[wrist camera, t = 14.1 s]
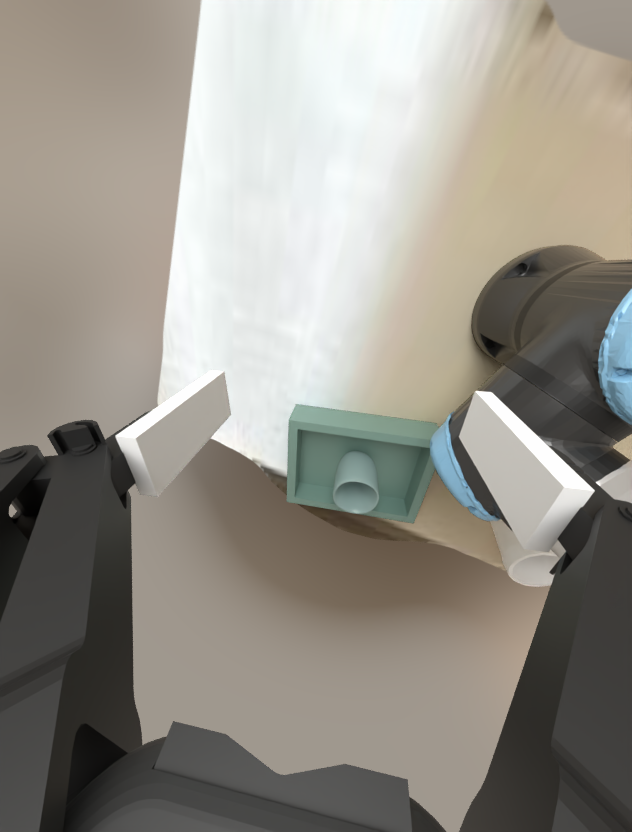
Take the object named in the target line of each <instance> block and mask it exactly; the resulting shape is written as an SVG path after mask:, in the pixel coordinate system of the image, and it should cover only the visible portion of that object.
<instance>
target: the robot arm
mask: <svg viewBox="0 0 632 832" xmlns="http://www.w3.org/2000/svg"><path fill="white" fill-rule="evenodd" d="M472 331H473V335H474V338H475V341H476V343H477V344H478V346H479V347H480V348H481V350H482V351H483V352H485V353H486V354H487V355H489V356H490V357H491V358H493V359H495V360H496V361H498V362H501V363H503V364H504V365H503V366H501V367H500V368H499V369H498V370H497V371H496V372H495V373H494V374H493V375H492V376H491V377H490V378H489V379H488V380H487V381H486V382H485V383H484V384H483V385H482V386H481V387H480V388H479V389H478V390H477V391H475V393H474V394H473V395H472V396H471V397H470V398H468V399H467V400H466V401H465V402H464V403H463V404H462V405H461V406H460V407H459V408H458V409H457V410H456V411H455V412H452V413H451V414H450V415H449V416H448V417H447V419H446V421H445V422H444V423H443V424H442V425H441V426H440V428H439V429H438V430H437V431H436V432H435V433H434V434H433V436H432V437H431V440H430V455H431V459H432V462H433V464H434V467H435V469H436V471H437V473H438V475H439V476H440V478H441V480H442V481H443V483H444V484H445V486H446V487H447V488H448V490H449V491H450V492H451V494H452V495H453V496H454V497H455V498H456V499H457V501H458V502H459V503H460V504H461V505H463V506H464V507H468V509H469V511H470V512H471V513H472V514H473V515H475V516H476V517H478V518H480V519H482V520H485V521H498V520H502V521H503V522H504V523H505V524H506V525H507V526H508V527H509V528H510V530H511V531H512V532H513V533H514V534H515V535H516V537H517V539H518V541H519V542H520V544H521V546H522V548H523V549H528V550H536V551H543V552H549V551H550V550H552V551H553V552H554V553H555V554H556V555H557V556H558V557H559V558H560V559H559V560H558V562H557V563H556V564H555V565H554V567H553V568H552V569H551V570H550V572H549V573H550V574H552V575H554V574H555V575H554V578H553V581H552V584H551V587H550V590H549V593H548V596H547V599H546V602H545V605H544V608H543V611H542V614H541V617H540V619H539V623H538V625H537V628H536V631H535V634H534V637H533V640H532V643H531V646H530V649H529V652H528V655H527V658H526V661H525V664H524V667H523V670H522V673H521V676H520V679H519V682H518V685H517V688H516V690H515V693H514V697H513V700H512V702H511V706H510V708H509V711H508V714H507V717H506V720H505V723H504V726H503V729H502V732H501V735H500V738H499V741H498V744H497V747H496V750H495V753H494V755H493V759H492V761H491V764H490V767H489V770H488V773H487V776H486V778H485V781H484V783H483V785H482V787H481V789H480V791H479V792H478V794H477V796H476V797H475V798H474V800H473V801H472V803H471V805H470V808H469V809H468V811H467V813H466V816H465V818H464V821H463V824H462V826H461V828H460V831H459V832H632V461H631V460H629V459H628V458H626V457H625V456H624V455H622V454H621V453H619V452H618V451H616V450H615V449H614V448H613V445H615V444H616V443H618V442H619V441H621V440H622V439H624V438H626V437H627V436H629V435H630V434H632V260H609V261H607V260H605V259H604V258H602V257H600V256H599V255H597V254H596V253H594V252H592V251H590V250H588V249H586V248H582V247H578V246H571V245H559V246H550V247H543V248H539V249H535V250H532V251H529V252H527V253H524V254H522V255H520V256H518V257H517V258H515V259H513V260H512V261H510V262H509V263H507V264H506V265H505V266H503V267H502V268H501V269H500V270H499V271H498V272H497V273H496V274H495V275H494V276H493V277H492V278H491V279H490V280H489V281H488V283H487V284H486V285H485V287H484V288H483V290H482V292H481V293H480V295H479V297H478V299H477V302H476V304H475V307H474V311H473V316H472ZM509 368H510V369H509ZM512 370H513V371H512ZM515 372H516V373H515ZM518 374H519V375H518ZM521 376H522V377H521ZM524 378H525V379H524ZM531 383H532V384H531ZM534 385H535V386H534ZM537 387H538V388H537ZM540 389H541V390H540ZM543 391H544V392H543ZM549 395H550V396H549ZM553 398H554V399H553ZM556 400H557V401H556ZM559 402H560V403H559ZM562 404H563V405H562ZM572 411H573V412H572ZM575 413H576V414H575ZM230 415H231V412H230V405H229V399H228V393H227V386H226V380H225V373H224V371H213V370H211V371H209V372H208V373H207V374H205V375H204V376H202V377H201V378H199V379H198V380H196V381H195V382H193V383H192V384H190V385H189V386H188V387H186V388H185V389H183V390H182V391H180V392H179V393H177V394H176V395H174V396H173V397H171V398H170V399H168V400H167V401H166V402H164V403H163V404H161V405H160V406H158V407H157V408H155V409H153V410H151V411H149V412H146V413H144V414H143V415H141V416H140V417H138V418H137V419H136V420H134V421H132V422H131V423H129V425H126V426H125V427H123V428H122V429H121V430H119V431H117V432H116V433H115V434H113V435H111V436H110V437H109V438H107V439H106V440H105V439H104V437H103V434H102V432H101V430H100V428H99V426H98V423H97V422H96V421H93V420H81V421H75V422H72V423H68V424H65V425H62V426H60V427H57V428H56V429H54V430H52V431H51V432H50V433H49V434H48V438H49V439H50V441H51V443H52V445H53V446H54V448H55V450H56V452H57V453H58V455H57V456H45V457H44V456H43V455H42V453H41V451H40V450H39V448H38V447H37V446H34V445H24V446H19V447H12V448H10V449H6V450H3V451H2V452H0V832H446V831H445V830H444V828H443V827H442V826H441V825H440V824H439V823H438V822H437V821H436V819H435V818H434V817H433V816H432V815H430V814H429V813H428V812H427V811H426V810H425V809H424V808H423V807H422V806H421V805H420V804H419V803H417V802H416V801H415V800H413V799H412V798H410V797H409V791H408V780H407V779H403V778H399V777H395V776H391V775H387V774H383V773H379V772H375V771H371V770H367V769H363V768H359V767H355V766H351V765H347V764H343V765H338V766H332V767H327V768H321V769H316V770H311V771H305V772H300V773H294V774H289V775H280V774H277V773H275V772H274V771H272V770H271V769H270V768H269V767H267V766H266V765H264V764H263V763H262V762H261V761H259V760H258V759H257V758H256V757H254V756H253V755H252V754H251V753H249V752H248V751H247V750H245V749H244V748H243V747H242V746H240V745H239V744H238V743H236V742H235V741H234V740H232V739H231V738H230V737H229V736H228V735H226V734H222V733H219V732H215V731H210V730H207V729H203V728H198V727H194V726H190V725H186V724H182V723H178V722H174V721H173V723H172V725H171V728H170V730H169V733H168V735H167V737H162V738H160V739H157V740H154V741H151V742H148V743H146V744H144V745H142V733H141V726H140V720H139V716H138V712H137V709H136V705H135V700H134V691H133V625H132V549H131V497H130V494H129V492H128V489H129V488H130V487H131V486H132V485H134V484H136V486H137V488H138V491H139V493H140V495H148V496H154V497H158V496H159V495H160V494H161V493H162V492H163V491H164V490H165V488H166V487H167V486H168V485H169V484H170V483H171V482H172V481H173V479H174V478H175V477H176V476H177V475H178V474H179V473H180V471H181V470H182V469H183V468H184V467H185V466H186V465H187V464H188V463H189V461H190V460H191V459H192V458H193V457H194V456H195V455H196V454H197V452H198V451H199V450H200V449H201V448H202V447H203V446H204V444H205V443H206V442H207V441H208V440H209V439H210V438H211V437H212V435H213V434H214V433H215V432H216V431H217V430H218V429H219V428H220V426H221V425H222V424H223V423H224V422H225V421H226V420H227V419H228V417H229V416H230ZM610 437H611V438H610ZM612 438H613V439H614V440H613V439H612ZM615 440H616V441H617V442H616V441H615ZM10 504H12V505H13V506H14V508H15V509H16V510H17V512H16V513H15V515H14V516H13V517H12V518H11V517H10V516H9V506H10Z"/></svg>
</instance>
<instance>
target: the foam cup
mask: <svg viewBox="0 0 632 832" xmlns="http://www.w3.org/2000/svg"><path fill="white" fill-rule="evenodd" d="M490 523H491V526H492V529H493V532H494V535H495V538H496V541H497V544H498V547H499V550H500V553H501V556H502V563H503V565H504V567H505V569H506V571H507V573H508V575H509V576H510V577H511V578H512V580H513V581H515V582H517V583H520V584H522V585H526V586H535V587H541V586H549V585H551V584H552V581H553V578H554V575H555V574H554V575H552V574H550V573H549V572H550V570H551V569H552V568H553V567H554V565H555V564H556V563H557V562H558V560H559V559H560V558H559V557H558V556H557V555H556V554H555V553H554V552H553V551H552V550H550V551H549V552H543V551H536V550H528V549H523V548H522V546H521V544H520V542H519V541H518V539H517V537H516V535H515V534H514V533H513V532H512V531H511V530H510V528H509V527H508V526H507V525H506V524H505V523H504V522H503V521H502V520H498V521H490Z"/></svg>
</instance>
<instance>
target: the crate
mask: <svg viewBox="0 0 632 832" xmlns="http://www.w3.org/2000/svg"><path fill="white" fill-rule="evenodd" d="M438 429H439V427H438V425H437V423H431V422H424V421H416V420H409V419H401V418H394V417H387V416H379V415H372V414H365V413H357V412H350V411H343V410H335V409H328V408H320V407H313V406H306V405H298V404H296V406H295V408H294V410H293V412H292V414H291V416H290V419H289V434H288V472H287V502H291V503H297V504H303V505H309V506H314V507H320V508H326V509H332V510H338V511H344V510H342V509H340V508H339V507H338V506H337V505H336V504H335V502H334V500H333V487H334V479H335V473H336V469H337V466H338V463H339V461H340V459H341V458H342V456H343V455H344V454H346V453H347V452H349V451H361V452H364V453H366V454H368V455H369V456H370V457H371V458H372V459H373V461H374V463H375V465H376V468H377V473H378V482H379V501H378V504H377V505H376V507H375V508H374V509H373V510H371V511H370V512H367V513H363V514H361V515H367V516H373V517H379V518H385V519H390V520H396V521H402V522H408V523H414V521H415V519H416V516H417V514H418V511H419V509H420V506H421V503H422V501H423V498H424V496H425V493H426V491H427V488H428V486H429V483H430V481H431V478H432V476H433V473H434V471H435V467H434V464H433V462H432V459H431V455H430V440H431V437H432V436H433V434H434V433H435V432H436V431H437V430H438ZM344 512H346V511H344Z"/></svg>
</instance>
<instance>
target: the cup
mask: <svg viewBox="0 0 632 832" xmlns="http://www.w3.org/2000/svg"><path fill="white" fill-rule="evenodd" d="M333 500H334V502H335V504H336V505H337V506H338V507H339V508H340V509H342V510H344V511H346V512H349V513H354V514H363V513H367V512H370V511H371V510H373V509H374V508H375V507H376V505H377V504H378V501H379V482H378V473H377V468H376V465H375V463H374V461H373V459H372V458H371V457H370V456H369V455H368V454H366V453H364V452H361V451H349V452H347V453H346V454H344V455H343V456H342V458H341V459H340V461H339V463H338V466H337V469H336V473H335V479H334V487H333Z"/></svg>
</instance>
